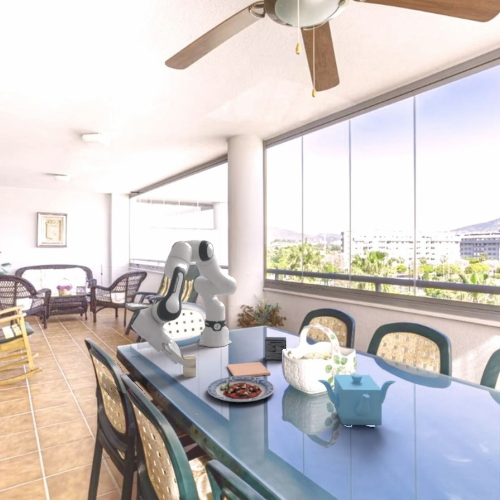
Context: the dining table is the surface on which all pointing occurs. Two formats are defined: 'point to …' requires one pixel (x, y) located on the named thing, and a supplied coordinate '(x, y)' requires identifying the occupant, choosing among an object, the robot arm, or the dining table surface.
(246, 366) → the terracotta tile
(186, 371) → the ash block
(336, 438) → the dining table surface
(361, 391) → the teakettle
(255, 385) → the ceramic plate
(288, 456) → the dining table surface
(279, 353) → the small box
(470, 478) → the dining table surface
